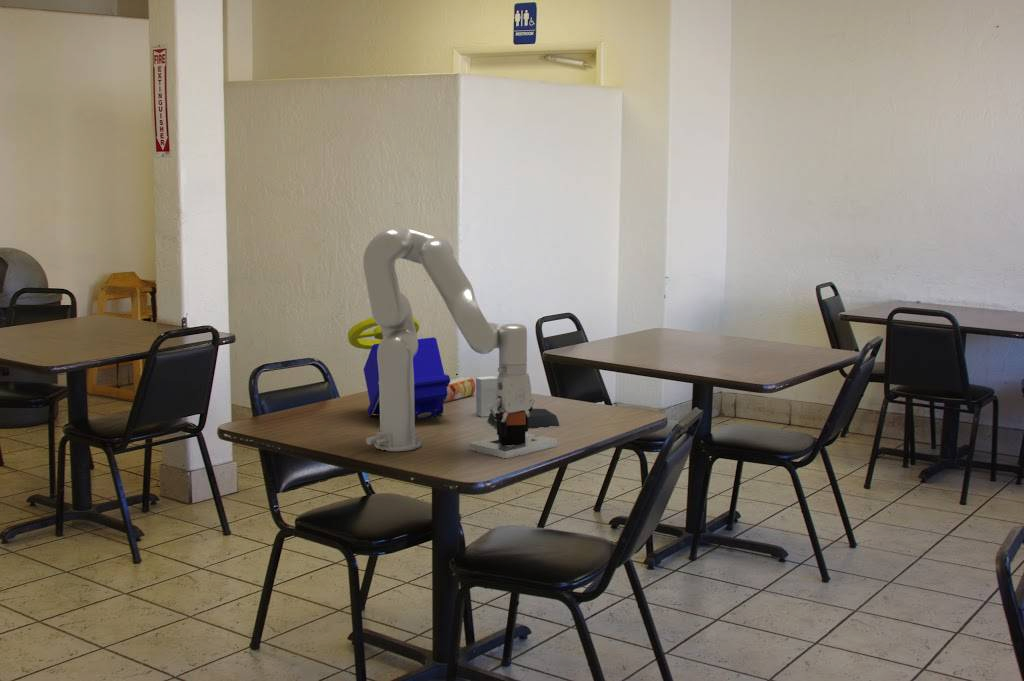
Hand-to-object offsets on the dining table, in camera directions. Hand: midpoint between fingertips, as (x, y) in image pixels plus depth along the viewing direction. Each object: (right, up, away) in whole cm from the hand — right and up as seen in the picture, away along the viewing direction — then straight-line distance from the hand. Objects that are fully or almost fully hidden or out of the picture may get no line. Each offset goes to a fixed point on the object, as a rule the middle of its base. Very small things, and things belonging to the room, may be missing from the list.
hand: (512, 432), depth 304 cm
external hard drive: (+3, -1, +32) cm, 32 cm away
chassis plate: (0, -4, +1) cm, 4 cm away
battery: (0, -3, +1) cm, 3 cm away
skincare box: (-8, +2, +45) cm, 45 cm away
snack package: (-21, +5, +70) cm, 73 cm away
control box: (-35, +1, +41) cm, 54 cm away
